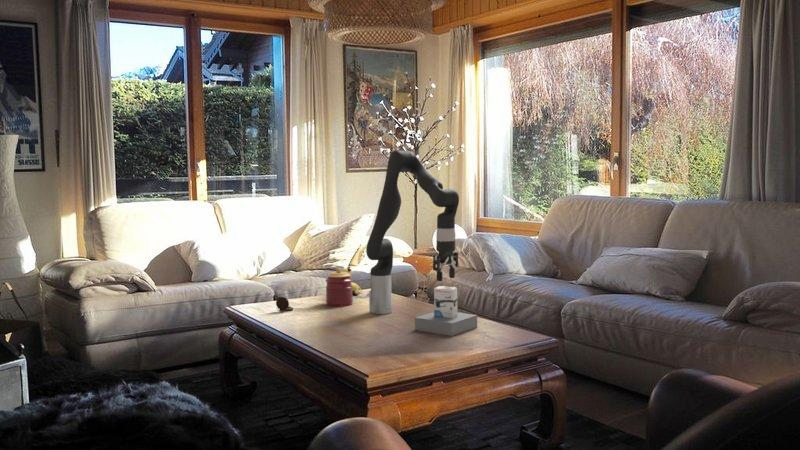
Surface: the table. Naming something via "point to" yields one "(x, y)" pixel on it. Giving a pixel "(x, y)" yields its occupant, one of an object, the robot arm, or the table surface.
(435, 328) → the plinth
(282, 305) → the dark brown round ball
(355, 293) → the stuffed giraffe
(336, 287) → the canister
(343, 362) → the table surface
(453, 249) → the robot arm
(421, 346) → the table surface
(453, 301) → the ink box
